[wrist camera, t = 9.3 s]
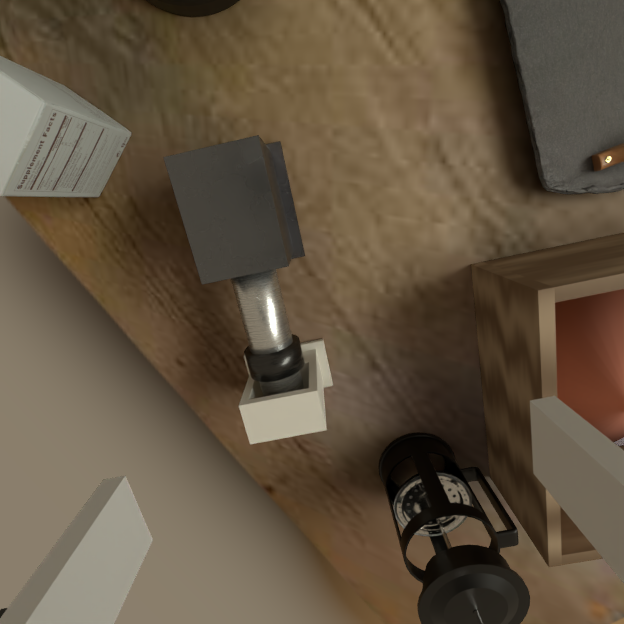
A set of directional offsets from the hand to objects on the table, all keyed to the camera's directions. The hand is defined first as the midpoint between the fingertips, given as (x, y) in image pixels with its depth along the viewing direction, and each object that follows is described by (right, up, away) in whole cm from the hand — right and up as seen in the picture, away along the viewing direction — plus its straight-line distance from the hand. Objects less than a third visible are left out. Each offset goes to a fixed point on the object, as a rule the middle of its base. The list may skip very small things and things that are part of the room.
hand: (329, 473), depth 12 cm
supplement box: (-22, +21, +24) cm, 39 cm away
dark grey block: (-7, +15, +25) cm, 30 cm away
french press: (+13, -14, +34) cm, 39 cm away
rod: (-5, +5, +24) cm, 25 cm away
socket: (-3, -1, +30) cm, 30 cm away
